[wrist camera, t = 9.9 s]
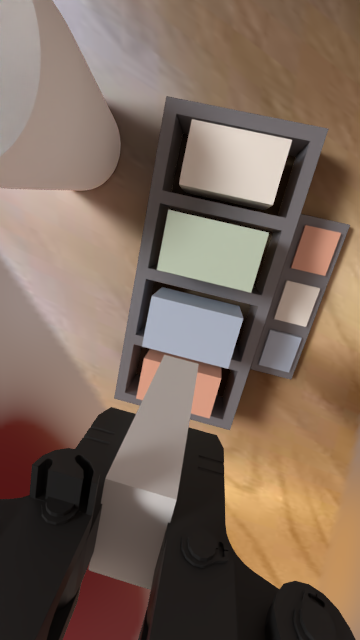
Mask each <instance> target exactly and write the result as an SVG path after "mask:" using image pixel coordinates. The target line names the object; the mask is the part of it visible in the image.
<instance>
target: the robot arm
mask: <svg viewBox="0 0 360 640" xmlns="http://www.w3.org/2000/svg"><path fill="white" fill-rule="evenodd" d="M198 366H199V364H198V363H194V362H190V361H186V360H182V359H178V358H175V357H171V356H167V355H164V357H163V359H162V361H161V363H160V365H159V367H158V369H157V371H156V373H155V376H154V378H153V380H152V382H151V384H150V386H149V388H148V390H147V392H146V394H145V396H144V399H143V401H142V403H141V405H140V407H139V409H138V411H137V413H136V414H134V413H130V412H126V411H123V410H119V409H116V408H112V407H111V408H109V409H108V410H106V411H104V412H103V413H101V414H99V415H98V417H97V418H96V420H95V421H94V422H93V424H92V426H91V428H89V430H88V431H87V433H86V434H85V436H84V438H82V440H81V441H80V443H79V444H78V446H77V447H76V449H70V448H67V449H60V450H55V451H52V452H50V453H48V454H45V455H43V456H42V457H41V458H39V459H38V460H37V461H36V462H35V463H34V464H32V473H31V485H30V495H29V496H26V497H23V498H15V499H0V640H63V637H64V635H65V632H66V629H67V627H68V624H69V622H70V619H71V617H72V614H73V611H74V608H75V606H76V604H77V600H78V596H79V591H80V586H81V582H82V580H83V577H84V575H85V572H86V570H87V567H88V565H89V562H90V565H89V570H90V571H93V572H96V573H99V574H103V575H106V576H109V577H112V578H115V579H118V580H121V581H125V582H128V583H131V584H134V585H137V586H140V587H144V588H147V589H150V590H151V592H150V597H149V602H148V607H147V611H146V614H145V618H144V621H143V625H142V628H141V632H140V635H139V639H138V640H355V638H354V636H353V634H352V632H351V630H350V628H349V626H348V625H347V623H346V622H345V620H344V618H343V617H342V615H341V613H340V612H339V610H338V609H337V608H336V607H335V606H334V605H333V603H332V602H330V600H329V599H328V598H327V597H326V596H325V595H324V594H323V593H321V592H320V591H318V590H317V589H315V588H314V587H312V586H310V585H309V584H305V583H301V582H298V581H293V582H289V583H285V584H283V586H282V587H281V588H280V589H278V588H276V587H275V586H274V585H272V584H271V583H269V582H268V581H266V580H265V579H263V578H262V577H260V576H259V575H258V574H256V573H255V572H253V571H252V570H251V569H250V568H249V567H247V566H246V565H245V564H244V563H243V562H242V561H241V560H240V558H239V557H238V556H237V555H236V553H235V552H234V550H233V548H232V546H231V544H230V542H229V539H228V537H227V533H226V526H225V489H224V465H223V464H224V448H223V446H222V444H221V442H220V441H219V439H218V437H217V435H214V434H210V433H206V432H203V431H199V430H196V429H192V428H188V427H189V421H190V415H191V409H192V403H193V396H194V390H195V384H196V378H197V372H198Z"/></svg>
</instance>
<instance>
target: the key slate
mask: <svg viewBox="0 0 360 640" xmlns="http://www.w3.org/2000/svg"><path fill="white" fill-rule="evenodd" d="M242 321H243V316H242V313H241V309H240V306H237V305H233V304H229V303H225V302H221V301H217V300H213V299H209V298H205V297H201V296H197V295H192V294H188V293H184V292H180V291H176V290H172V289H168V288H164V287H162V288H160V289H159V290H158V291H157V292H156V293H155V294H153V295H152V297H151V302H150V307H149V313H148V318H147V323H146V328H145V333H144V338H143V343H142V347H146V348H150V349H154V350H157V351H161V352H165V353H169V354H173V355H177V356H180V357H184V358H188V359H192V360H196V361H200V362H203V363H207V364H211V365H215V366H219V367H223V368H227V369H228V368H229V365H230V361H231V358H232V355H233V351H234V348H235V345H236V341H237V338H238V335H239V331H240V328H241V325H242Z"/></svg>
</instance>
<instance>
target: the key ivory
mask: <svg viewBox="0 0 360 640" xmlns="http://www.w3.org/2000/svg"><path fill="white" fill-rule="evenodd" d="M291 142H292V140H291V139H286V138H281V137H276V136H271V135H266V134H261V133H257V132H252V131H247V130H242V129H237V128H232V127H227V126H222V125H218V124H213V123H208V122H203V121H198V120H193V119H192V121H191V126H190V131H189V136H188V141H187V146H186V151H185V156H184V161H183V166H182V171H181V176H180V181H179V185H180V187H181V188H182V189H183V191H184V192H185V193H188V194H193V195H197V196H202V197H206V198H211V199H215V200H220V201H224V202H229V203H233V204H238V205H242V206H247V207H251V208H256V209H260V210H266V209H267V208H269V207H271V206H272V205H273V203H274V200H275V196H276V193H277V190H278V186H279V183H280V179H281V176H282V173H283V169H284V166H285V163H286V159H287V156H288V152H289V149H290V146H291Z"/></svg>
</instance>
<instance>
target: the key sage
mask: <svg viewBox="0 0 360 640" xmlns="http://www.w3.org/2000/svg"><path fill="white" fill-rule="evenodd" d="M268 235H269V232H264V231H260V230H255V229H251V228H247V227H242V226H238V225H233V224H229V223H225V222H220V221H216V220H211V219H207V218H203V217H198V216H194V215H189V214H185V213H181V212H176V211H172V210H168V215H167V220H166V225H165V230H164V235H163V240H162V246H161V251H160V256H159V261H158V266H157V270H159V271H163V272H167V273H172V274H176V275H180V276H184V277H188V278H192V279H196V280H201V281H205V282H209V283H213V284H217V285H221V286H225V287H229V288H234V289H238V290H242V291H246V292H250V293H251V292H252V288H253V285H254V282H255V278H256V275H257V272H258V268H259V265H260V262H261V258H262V255H263V252H264V248H265V245H266V242H267V238H268Z"/></svg>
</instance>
